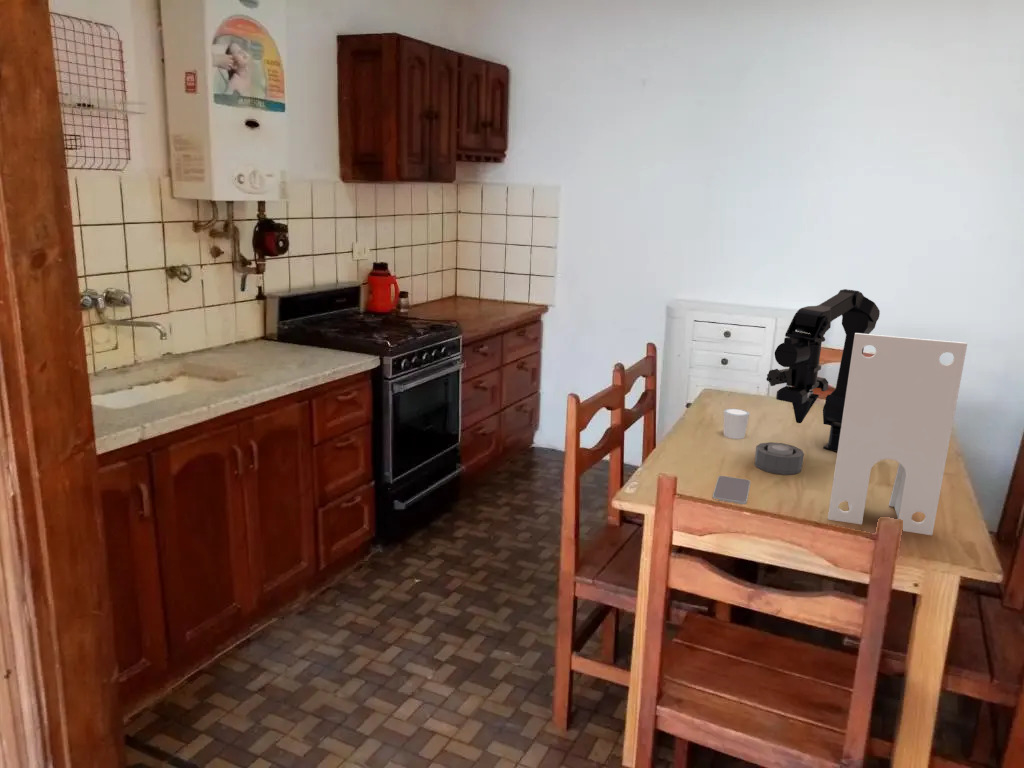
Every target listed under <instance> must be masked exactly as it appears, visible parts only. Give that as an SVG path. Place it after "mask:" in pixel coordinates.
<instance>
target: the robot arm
mask: <svg viewBox="0 0 1024 768" xmlns="http://www.w3.org/2000/svg"><path fill="white" fill-rule="evenodd" d="M880 312H881V311H880V309H879V307H878V306H877V305H876V303H875V302H874V301H873V300H871V299H869V298H868V297H866V296H864V293H862V292H861V291H859V290H854V289H847V288H844V289H840V290H839V291H838V293H837V294H835V295H833V296H832V297H830V298H828V299H827V300H825V301H824V302H822V303H820V304H818V305H809V306H808V305H807V306H804V307H801V308H799V309H798V310H797V311H796V313H794V315H793V318H792V319H791V321H790V324H789V325H788V328H787V330H786V332H785V333H784V334H785V335H784V336H785V337H784V338H783V339H784V340H783V342H782V343H780V344H778V346H777V347H776V349H775V350H774V359H775V361H776V363H777V364H778V365H780V366H782V367H783V369H778V368H775V369H770V370H769V371H768V373H767V374H766V376H767V377H766V379H765V380H766V381H767V382H768V383H769V385H770V387H774V386H776V385H783V384H785V385H784V386H783V387H781V388H780V389H778V390H777V391H776V395H775V397H776V398H775V399H776V400H777V401H782V402H788V403H791V404H792V407H793V412H794V413H793V414H794V418H795V422H796V423H797V424H801V423H803V422H804V419H805V418H806V416H807V414H808V413H809V412H810V410H811V409H812V407H813V406H814V404H815V403H816V401H817V399H818V398H819V397H820V395H819V394H816V393H814V392H815V391H813V390H814V389H816V388H817V389H820V390H821V392H825V391H828V388H829V381H828V380H827V379H826V378H825V377H819V376H818V374H819V371H820V370H822V365H820V359H821V350H822V343H823V342H824V343H825V341H826V338H825V334H826V332H828V331H829V330H830V329H831V324H832V322H833V321H834V320H836V319H837V318H839V317H841V319H842V320H841V325H842V328H843V330H844V333H845V338H844V345H843V349H842V354H841V359H840V364H839V369H838V376H837V380H836V384H835V389H834V390H833V391H832V392H830V393H829V394H827V395H826V397H825V402H824V405H823V407H822V421H823V423H822V424H823V425H827V426H830V429H829V430H830V431H829V437H828V443H826V444H825V445H823V449H825V450H830V451H834V452H838V445H839V438H840V431H841V424H842V418H843V411H844V404H845V397H846V390H847V384H848V377H849V370H850V363H851V356H852V350H853V343H854V336H855V333H862V334H871V333H872V332H873V331H874V329H875V327H876V326H877V325H876V324H877V322H878V321H879V319H880V314H881V313H880ZM864 348H865V347H864ZM864 348H863V349H862V354H863V353H864ZM863 355H864V354H863Z"/></svg>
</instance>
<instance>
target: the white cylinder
mask: <svg viewBox="0 0 1024 768" xmlns="http://www.w3.org/2000/svg"><path fill="white" fill-rule="evenodd" d="M749 416H750V412H749V411H747V410H745V409H741V408H740V409H739V408H726V409H724V410H723V436H724V437H725V438H728V439H732V440H733V439H734V440H740V439H741V440H742V439H744V438H745V436H746V432H747V426H748V422H749Z"/></svg>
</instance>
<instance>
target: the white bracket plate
mask: <svg viewBox="0 0 1024 768" xmlns="http://www.w3.org/2000/svg"><path fill="white" fill-rule="evenodd" d="M866 346H872V347H874V349H875V353H874V354H873V355H872V356H865V355H864V354H862V349H863V348H865V347H866ZM967 347H968V342H963V341H962V342H961V341H952V340H951V341H949V340H939V339H928V338H918V337H906V336H905V337H904V336H893V335H882V334H873V333H872V334H871V333H870V334H862V333H855V336H854V343H853V350H852V356H851V363H850V370H849V377H848V384H847V390H846V397H845V404H844V411H843V418H842V424H841V431H840V438H839V445H838V451H836V452H837V453H836V460H835V466H834V473H833V480H832V488H831V492H830V493H831V494H830V500H829V506H828V507H829V508H828V513H827V520H830V521H837V522H841V523H842V522H843V523H850V524H855V525H863V522H864V521H863V520H864V519H863V518H864V515H865V514H864V513H865V508H866V501H867V495H868V489H869V482H870V477H871V471H872V468H873V467H874V466H875V464H876V463H877V464H878V462H880V461H883V460H892V461H896V462H898V465H897V466H898V467H897V471H896V474H895V479H894V483H893V487H892V491H891V494H890V499H889V502H888V506H889V507H892V508H894V510H895V514H896V517H897V520H898V519H901V520H903V531H902V532H907V533H913V534H914V533H915V534H919V535H920V534H921V535H927V536H933V534H934V533H933V532H934V528H935V522H936V517H937V512H938V506H939V502H940V496H941V495H940V494H941V490H942V484H943V478H944V474H945V468H946V463H947V457H948V451H949V445H950V442H951V435H952V429H953V424H954V418H955V413H956V407H957V403H958V402H957V401H958V397H959V396H958V395H959V391H960V385H961V380H962V375H963V370H964V365H965V364H964V363H965V359H966V358H965V357H966V352H967ZM945 353H950V354H952V355H953V360H952V361H951V362H950V363H948V364H945V363H944V364H943V363H941V359H940V358H941V356H942V355H943V354H945ZM842 502H843V503H844V502H847V505H848V510H846V511H845V510H843V509H841V508H840V507H839V506H840V504H841V503H842ZM916 513H922V514H923V515H924V519H923V520H922V521H915V520H914V519H913V518H912V517H913V515H914V514H916Z"/></svg>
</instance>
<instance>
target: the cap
mask: <svg viewBox="0 0 1024 768" xmlns="http://www.w3.org/2000/svg"><path fill="white" fill-rule="evenodd" d="M767 451H768V452H770V453H774V454H779V455H793V448H792V447H790V446H787V445H782V444H770V445H768V450H767Z"/></svg>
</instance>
